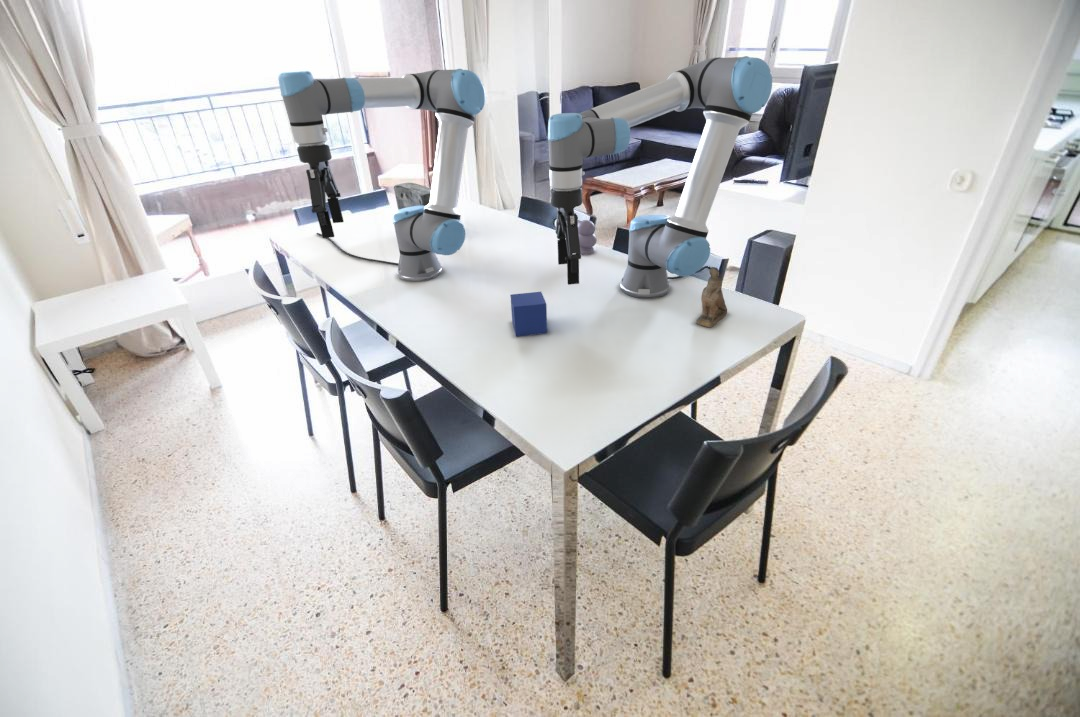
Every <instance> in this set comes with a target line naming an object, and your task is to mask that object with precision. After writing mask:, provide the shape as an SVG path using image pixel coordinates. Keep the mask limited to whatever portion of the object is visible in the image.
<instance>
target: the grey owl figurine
mask: <svg viewBox="0 0 1080 717" xmlns="http://www.w3.org/2000/svg"><path fill="white" fill-rule="evenodd" d="M595 232H596V225H595V223H593V221H591V220H588V219H583V220H580V219H578V233H579V243H580V253H581V256H582V255H583V256H584V255H585V256H587V255H591V254H593V253H594V252H595V251H594V246H595V245H596V244H597V240H598V239H597V236H596V235H595Z"/></svg>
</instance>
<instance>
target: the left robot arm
mask: <svg viewBox="0 0 1080 717" xmlns="http://www.w3.org/2000/svg"><path fill="white" fill-rule="evenodd" d="M277 78H278V85H279V89H280V90H279V91H280V96H281V98H282V100H283V104H284V108H285V112H286V115H287V118H288V122H289V125H290V126H289V127H290V130H291V134H292V137H293V143H294V144H296V153H297V157H298V160H299V162H301V163H302V164H308V165H309V169H306V170H305V172H306V176H307V180H308V188H309V195H310V202H311V208H312V209H311V213H312V214H316V216H317V221H318V225H319V228H320V232H321V233H319V232H316V233H315V234H316V235H317V236H320V237H322V238H323V239H326V240H328V241H329V242H331V243H332V245H334V246H335V247H336V248H337V249H338V250H339V251H340V252H342V253H343V254H346V255H347V256H350V257H352V258H355V259H359V260H363V261H367V262H368V261H369V262H375V263H381V264H386V265H394V266H397V276H398V278H399V279H400V280H402V281H406V282H413V283H414V282H425V281H429V280H432V279H435V278H438V277H439V276H440V275H441V274H442V273H443V268H442V264H441V263H440V260H439V259H438V256H437V255H442V256H452V255H454V254H456V253H457V252H458V251H459V250H461V248H462V247H463V245H464V243H465V240H466V229H465V228H464V224H463V223H462V222H461V215H462V214H461V213H460V211H459V210H458V204H459V197H460V196H459V195H460V189H461V181H462V174H463V167H464V160H465V153H466V146H467V139H468V132H469V131H468V130H469V129H470V127H472V126H473V125H474V124H475V118H476V115H478V114H480V113H481V111H482V110H484V107H485V104H486V89H485V86H484V84H483V83H482V79H481V78H480V77H479V75H477V73H475V72H474V71H473V70H470V69H462V68H457V69H432V70H428V71H423V72H417V73H405V74H404V75H402V77H359V78H358V77H355V78H354V77H341V78H340V77H339V78H338V77H337V78H314V77H313V74H312V72H311V71H309V70H297V71H296V70H295V71H280V72H279V74H278V76H277ZM400 107H405V108H407V109H409V110H421V111H422V110H423V111H429V112H435V117H436V118H437V119H438V121H439V125H438V126H439V127H438V134H437V142H436V150H435V158H434V166H433V174H432V182H431V188H430V189H431V197H430V203H429V204H428V205H427V206H412V207H407V208H403V209H399V210H398V209H397V210H395V211H394V212H393V213H392V220H393V221H392V224H393V226H394V230H395V231H394V232H395V236H396V241H397V247H398V251H399V259H398V262H393V261H392V262H391V261H386V260H380V259H373V258H368V257H363V256H360V255H355V254H353V253H350V252H347V251H346V250H344V249H342V248H341V247H340V246H339V245H338V244H337V243H336V242H335V241H334V240H333V239H331V238H335V233H334V229H333V225H332V223H333V224H338V223H344V217H343V213H342V209H341V205H340V201H339V198H341V193H340V192H339V189H338V186H337V183H336V181H335V178H334V175H333V173H332V170H331V166H330V163H329V161H330V160H332V158H333V157H332V152H331V149H330V144H328V142H327V141H328V137H327V133H328V131H329V130H328V128H327V127H325V125H324V119H323V116H326V115H335V114H345V113H354V112H359V111H361V110H363V109H379V108H400ZM326 142H327V143H326ZM326 196H327V199H326ZM327 204H328V208H329V211H328V210H327ZM329 212H330V213H329ZM330 216H331V217H330ZM331 220H332V221H331Z"/></svg>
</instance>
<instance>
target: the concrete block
mask: <svg viewBox="0 0 1080 717" xmlns="http://www.w3.org/2000/svg"><path fill="white" fill-rule="evenodd" d="M431 189H432V188H431V187H427V186H426V185H421V184H420V183H415V182H403V183H398V184H395V185H394V186H393V190H394V195H395V201H396V207H397V210H399V209H403V208H407V207H412V206H427V205H428V204H429V203H430V197H431Z"/></svg>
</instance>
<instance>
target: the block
mask: <svg viewBox="0 0 1080 717" xmlns="http://www.w3.org/2000/svg"><path fill="white" fill-rule="evenodd" d="M509 295H510V310H511V322H512V327H513V331H514V335H515V337H516V338H517V337H525V336H533V335H543V334H548V316H547V315H548V313H547V312H548V310H547V301H546V299H545V297H544V295H543V292H542V291H532V292H523V293H512V294H509Z"/></svg>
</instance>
